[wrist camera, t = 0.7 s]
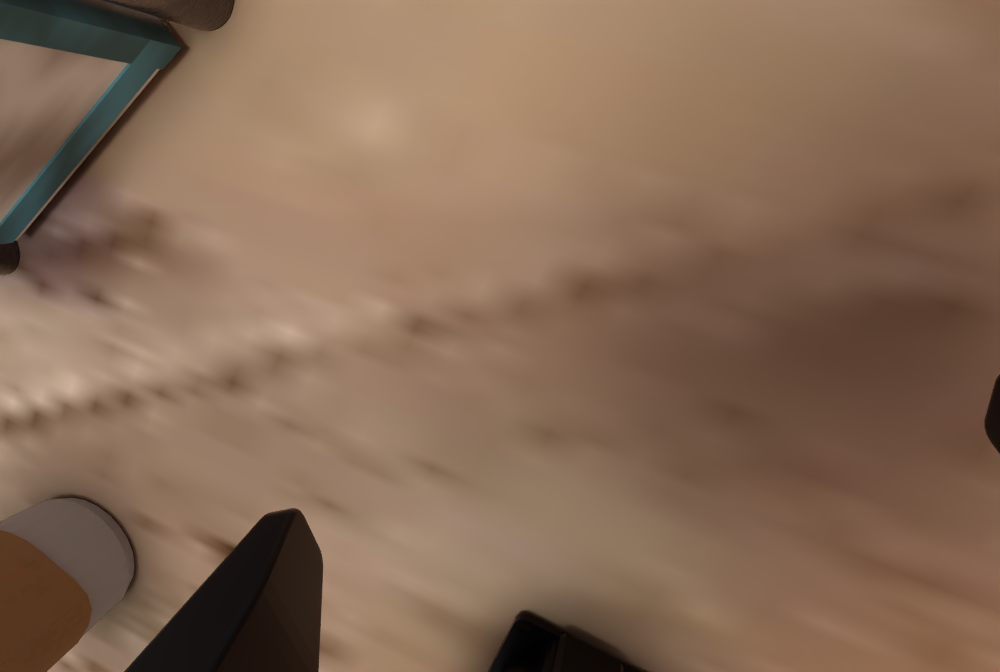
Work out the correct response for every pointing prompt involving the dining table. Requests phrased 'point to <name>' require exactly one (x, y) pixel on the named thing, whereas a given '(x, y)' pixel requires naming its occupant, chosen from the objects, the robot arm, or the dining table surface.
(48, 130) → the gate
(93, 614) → the coffee cup
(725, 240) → the dining table surface
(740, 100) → the dining table surface
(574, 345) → the dining table surface
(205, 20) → the gate posts
